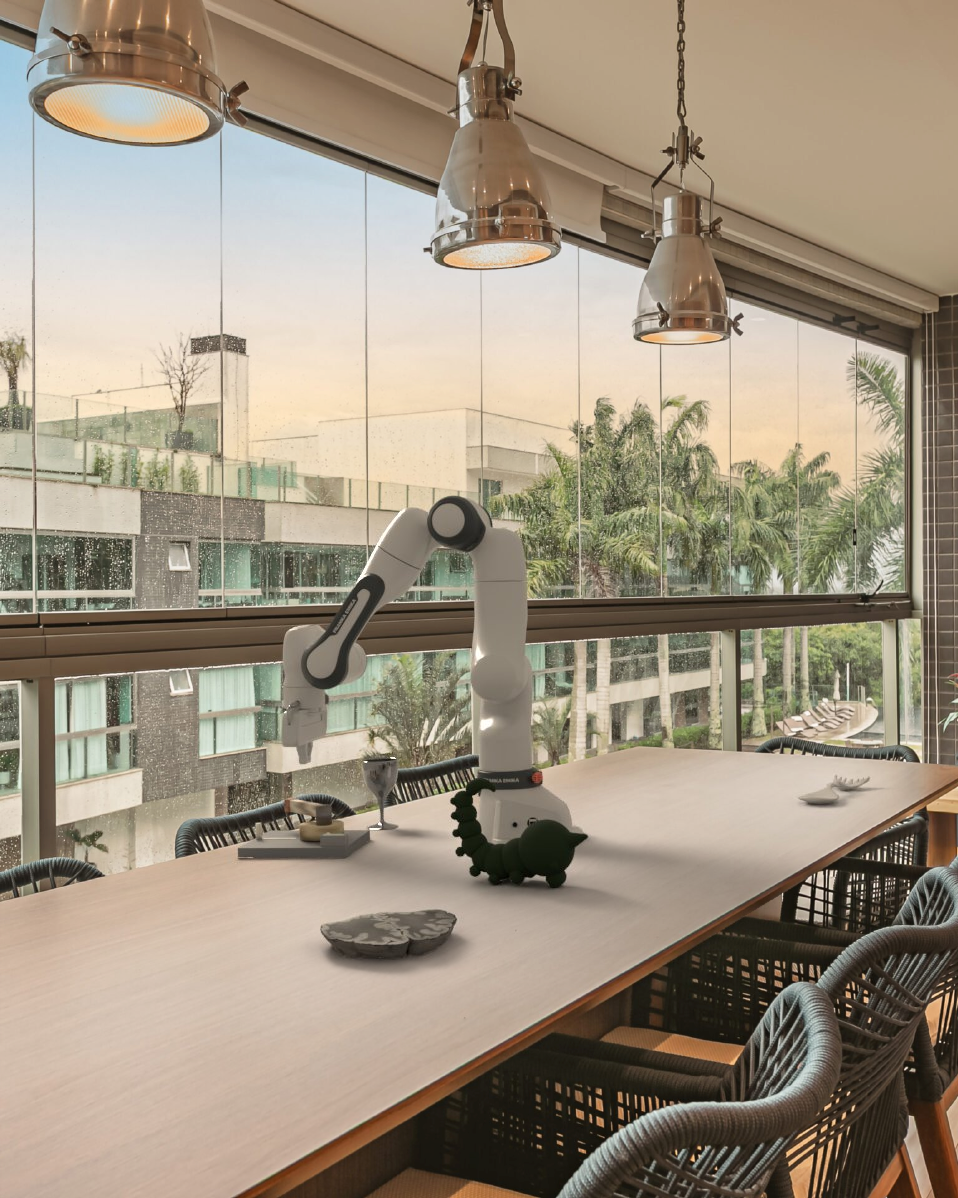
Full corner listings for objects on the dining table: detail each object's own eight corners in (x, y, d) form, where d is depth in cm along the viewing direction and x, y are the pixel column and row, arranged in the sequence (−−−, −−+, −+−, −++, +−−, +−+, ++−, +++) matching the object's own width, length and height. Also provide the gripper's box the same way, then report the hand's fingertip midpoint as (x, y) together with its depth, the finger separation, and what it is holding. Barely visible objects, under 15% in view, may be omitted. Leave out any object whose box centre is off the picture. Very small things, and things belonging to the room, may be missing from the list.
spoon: (871, 789, 279) (871, 775, 280) (830, 809, 253) (829, 794, 253) (835, 786, 285) (835, 773, 285) (791, 807, 258) (790, 791, 259)
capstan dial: (352, 836, 229) (351, 803, 229) (314, 843, 223) (313, 810, 224) (308, 826, 242) (307, 795, 242) (271, 832, 236) (270, 801, 237)
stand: (370, 839, 237) (369, 814, 237) (345, 858, 219) (344, 831, 219) (270, 840, 240) (269, 815, 240) (238, 858, 223) (237, 831, 223)
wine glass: (394, 830, 246) (392, 761, 246) (359, 830, 248) (357, 762, 248) (404, 823, 254) (402, 757, 254) (370, 823, 255) (368, 757, 256)
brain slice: (345, 976, 147) (344, 953, 147) (310, 943, 163) (310, 922, 163) (483, 953, 155) (482, 931, 155) (437, 923, 170) (437, 904, 170)
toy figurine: (450, 893, 194) (582, 893, 182) (437, 783, 196) (568, 775, 183) (477, 881, 203) (605, 880, 191) (465, 776, 204) (591, 767, 192)
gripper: (302, 703, 234) (303, 770, 234) (331, 696, 254) (332, 757, 254) (273, 703, 235) (274, 770, 235) (304, 696, 255) (305, 757, 255)
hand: (305, 763), depth 244 cm, fingers closed
